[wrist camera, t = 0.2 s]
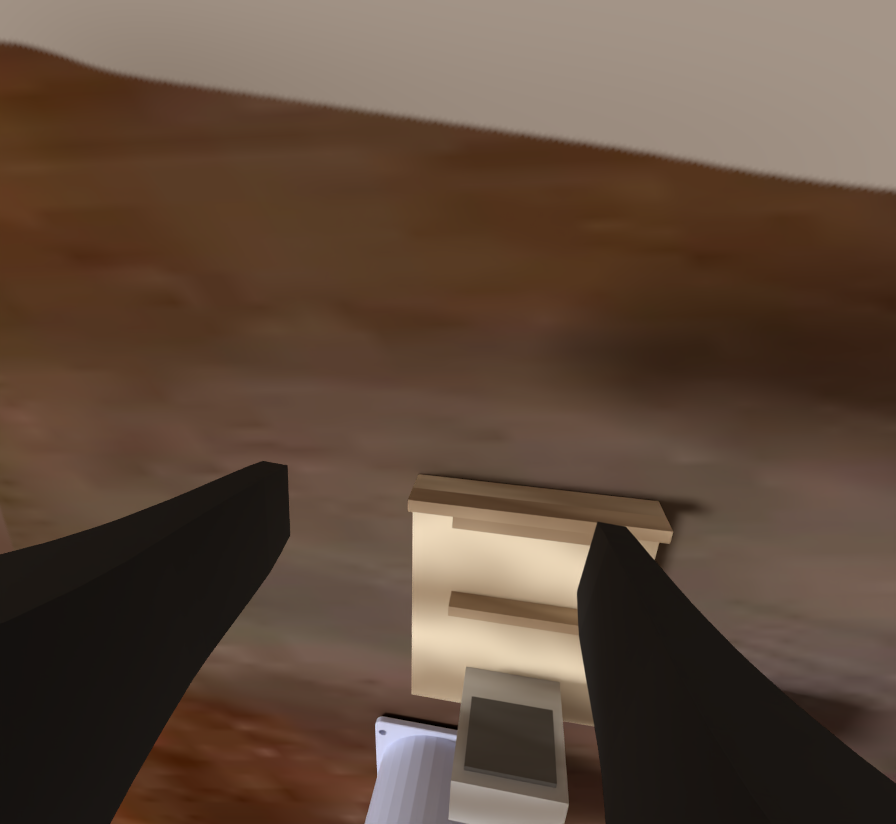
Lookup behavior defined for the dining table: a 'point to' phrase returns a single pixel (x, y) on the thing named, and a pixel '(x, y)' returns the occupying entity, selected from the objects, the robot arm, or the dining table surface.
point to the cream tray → (508, 631)
